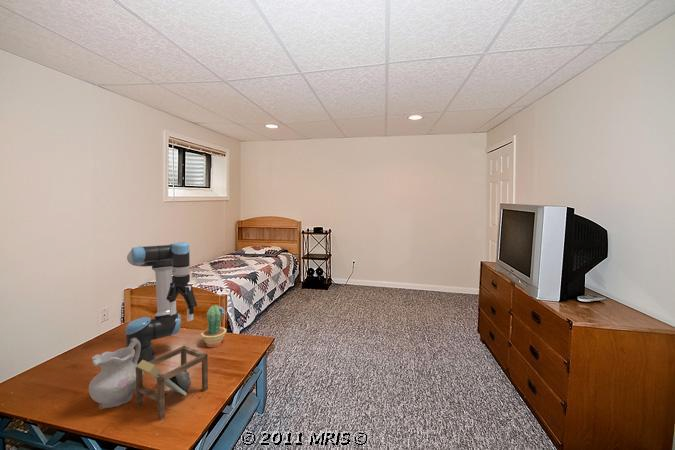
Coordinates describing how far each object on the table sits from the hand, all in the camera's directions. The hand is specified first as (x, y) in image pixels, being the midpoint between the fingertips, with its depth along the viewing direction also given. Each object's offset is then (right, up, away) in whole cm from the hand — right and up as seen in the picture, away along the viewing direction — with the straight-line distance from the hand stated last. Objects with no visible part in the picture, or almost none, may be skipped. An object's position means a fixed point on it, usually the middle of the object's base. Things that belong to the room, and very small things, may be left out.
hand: (181, 317), depth 138 cm
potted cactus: (-3, -32, +44) cm, 54 cm away
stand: (0, -35, -7) cm, 35 cm away
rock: (0, -29, -7) cm, 30 cm away
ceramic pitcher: (-24, -35, -8) cm, 43 cm away
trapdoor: (-2, -24, -14) cm, 28 cm away
